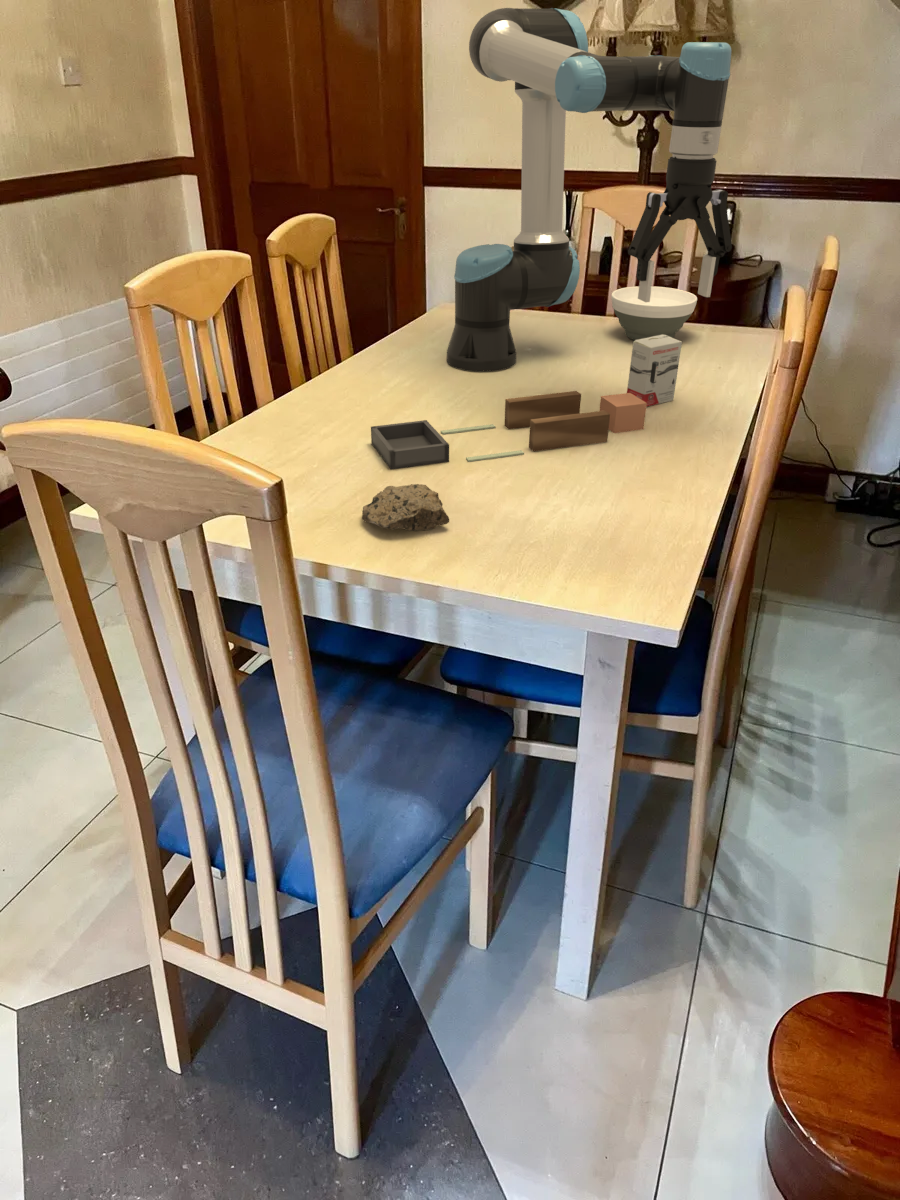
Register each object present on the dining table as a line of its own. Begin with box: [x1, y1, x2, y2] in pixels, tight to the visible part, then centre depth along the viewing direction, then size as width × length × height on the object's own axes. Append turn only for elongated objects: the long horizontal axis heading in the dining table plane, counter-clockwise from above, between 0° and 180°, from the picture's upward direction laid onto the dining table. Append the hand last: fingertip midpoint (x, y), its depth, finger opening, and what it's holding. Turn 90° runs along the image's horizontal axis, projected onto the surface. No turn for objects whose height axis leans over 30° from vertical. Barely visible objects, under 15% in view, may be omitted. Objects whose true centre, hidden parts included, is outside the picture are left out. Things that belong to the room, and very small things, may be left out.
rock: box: [361, 483, 450, 532], centre depth 130 cm, size 11×12×4 cm
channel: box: [503, 390, 610, 452], centre depth 159 cm, size 13×14×5 cm
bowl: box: [610, 285, 698, 341], centre depth 212 cm, size 20×20×10 cm
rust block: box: [598, 392, 647, 434], centre depth 163 cm, size 6×6×5 cm
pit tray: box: [370, 419, 450, 470], centre depth 152 cm, size 12×10×3 cm
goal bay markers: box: [440, 423, 525, 463], centre depth 157 cm, size 14×10×1 cm
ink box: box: [626, 335, 683, 408], centre depth 173 cm, size 8×5×12 cm, turn 123°
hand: (674, 298), depth 155 cm, fingers open, 11 cm apart
